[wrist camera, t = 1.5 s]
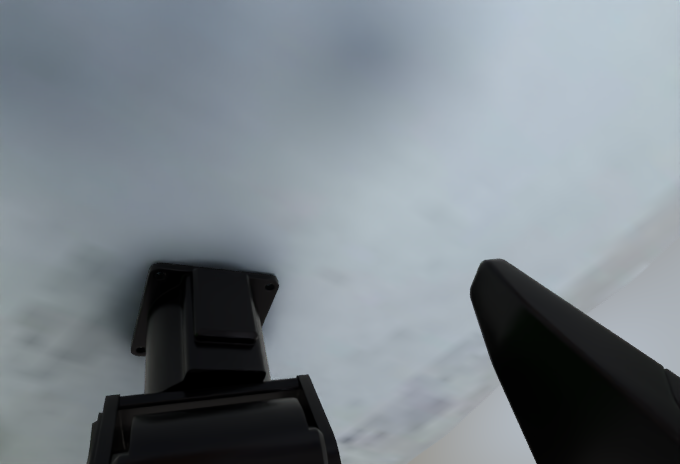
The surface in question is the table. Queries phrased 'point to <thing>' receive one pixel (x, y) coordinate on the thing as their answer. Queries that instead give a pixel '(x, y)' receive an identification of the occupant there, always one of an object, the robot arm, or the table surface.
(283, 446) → the robot arm
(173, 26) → the table surface
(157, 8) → the table surface
